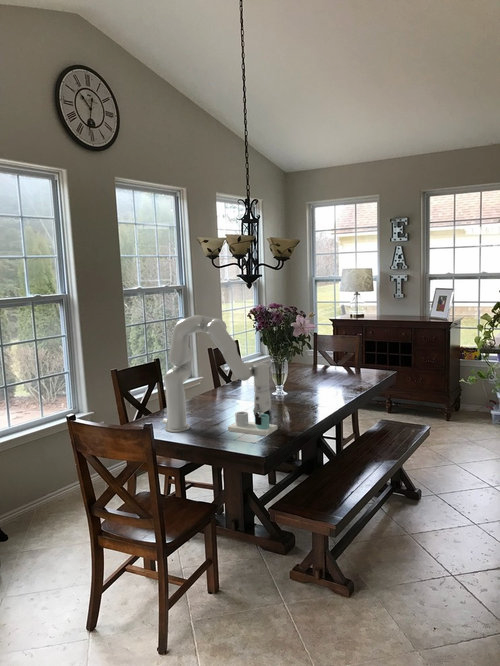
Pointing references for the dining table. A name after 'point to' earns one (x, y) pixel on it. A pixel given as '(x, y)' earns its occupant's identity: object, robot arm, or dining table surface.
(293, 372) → the dining table surface
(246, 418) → the sleeve grey
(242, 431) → the pin board
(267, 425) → the sleeve teal
